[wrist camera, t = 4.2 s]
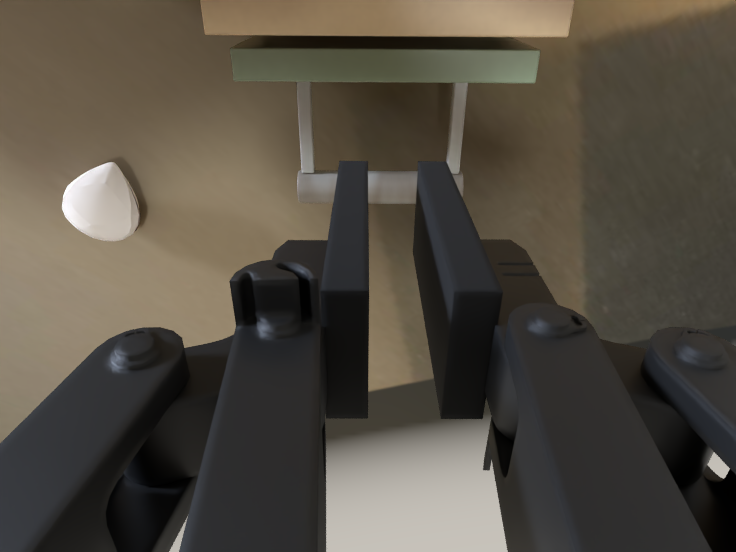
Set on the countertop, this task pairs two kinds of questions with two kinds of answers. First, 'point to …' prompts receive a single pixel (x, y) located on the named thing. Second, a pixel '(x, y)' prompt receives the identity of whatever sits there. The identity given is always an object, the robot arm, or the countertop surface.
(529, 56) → the drawer
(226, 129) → the countertop surface
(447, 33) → the cabinet
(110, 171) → the white teardrop piece
